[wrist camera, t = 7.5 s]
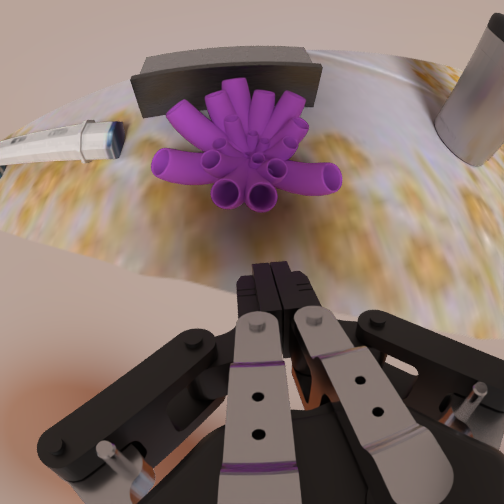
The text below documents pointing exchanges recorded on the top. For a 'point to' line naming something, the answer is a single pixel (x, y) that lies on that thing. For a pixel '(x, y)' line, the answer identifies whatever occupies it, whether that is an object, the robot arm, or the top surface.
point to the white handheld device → (65, 144)
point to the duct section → (223, 75)
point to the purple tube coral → (244, 148)
